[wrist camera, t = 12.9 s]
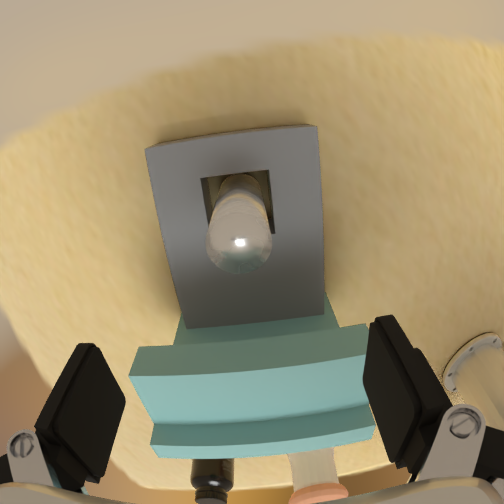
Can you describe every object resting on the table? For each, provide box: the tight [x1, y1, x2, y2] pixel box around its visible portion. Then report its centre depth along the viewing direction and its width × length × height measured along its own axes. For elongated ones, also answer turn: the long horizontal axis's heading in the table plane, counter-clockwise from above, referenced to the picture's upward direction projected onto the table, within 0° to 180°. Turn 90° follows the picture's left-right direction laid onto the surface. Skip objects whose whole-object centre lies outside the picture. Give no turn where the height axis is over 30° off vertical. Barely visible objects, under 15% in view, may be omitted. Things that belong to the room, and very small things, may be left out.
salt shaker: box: [287, 447, 348, 504], centre depth 34 cm, size 7×7×19 cm
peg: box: [205, 173, 272, 274], centre depth 25 cm, size 4×4×12 cm
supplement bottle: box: [191, 458, 234, 504], centre depth 42 cm, size 7×7×12 cm
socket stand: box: [129, 124, 376, 459], centre depth 24 cm, size 16×20×18 cm
